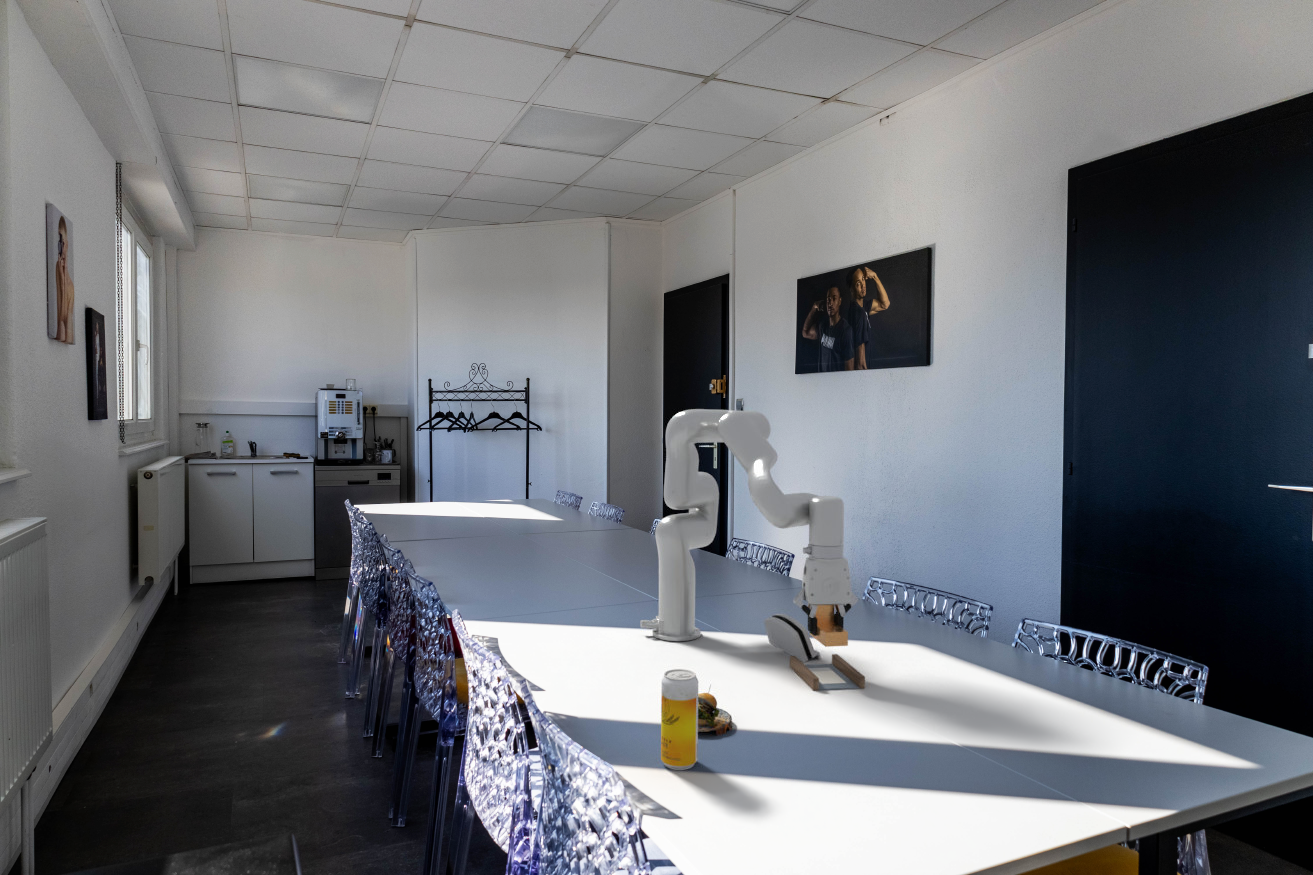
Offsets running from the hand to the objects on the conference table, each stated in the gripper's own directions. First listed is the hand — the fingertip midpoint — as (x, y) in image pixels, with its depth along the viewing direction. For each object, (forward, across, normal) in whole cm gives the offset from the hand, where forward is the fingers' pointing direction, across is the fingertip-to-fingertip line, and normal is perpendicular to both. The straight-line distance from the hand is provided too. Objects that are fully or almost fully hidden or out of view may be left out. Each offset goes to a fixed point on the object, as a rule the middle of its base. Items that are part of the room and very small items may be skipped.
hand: (825, 632), depth 180 cm
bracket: (+1, 0, -2) cm, 2 cm away
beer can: (+10, -40, -40) cm, 57 cm away
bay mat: (+10, 0, -1) cm, 10 cm away
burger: (+10, -33, -24) cm, 42 cm away
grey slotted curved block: (+10, -2, +19) cm, 21 cm away
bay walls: (+10, 0, -1) cm, 10 cm away
